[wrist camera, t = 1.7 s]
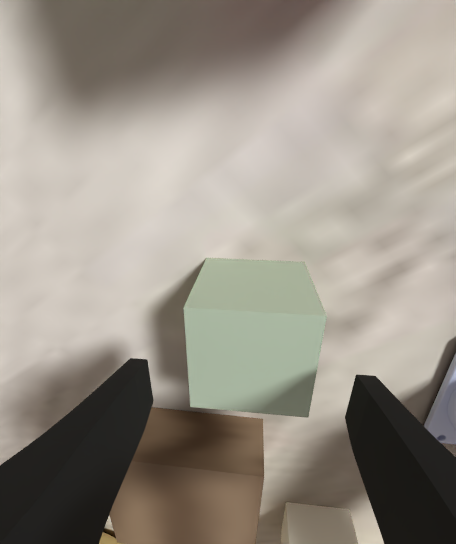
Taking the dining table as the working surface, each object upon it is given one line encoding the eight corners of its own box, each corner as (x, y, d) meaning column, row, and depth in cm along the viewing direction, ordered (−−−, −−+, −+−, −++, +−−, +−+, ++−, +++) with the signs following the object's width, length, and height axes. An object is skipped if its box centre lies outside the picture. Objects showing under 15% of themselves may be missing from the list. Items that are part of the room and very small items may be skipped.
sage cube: (304, 261, 14) (326, 316, 9) (293, 341, 16) (308, 417, 12) (206, 257, 14) (183, 307, 10) (208, 335, 16) (190, 406, 12)
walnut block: (262, 414, 19) (264, 476, 16) (253, 497, 23) (252, 561, 20) (123, 400, 20) (93, 456, 16) (138, 482, 24) (117, 542, 20)
